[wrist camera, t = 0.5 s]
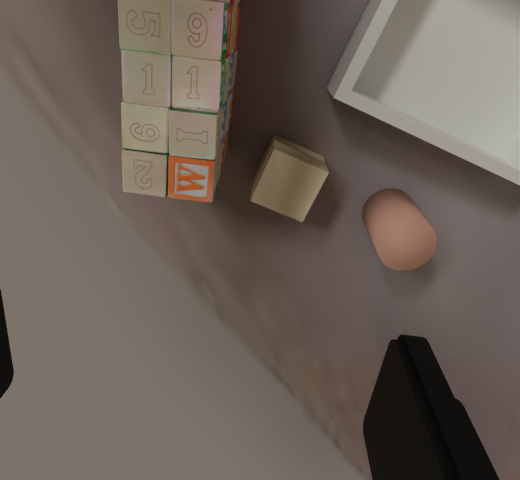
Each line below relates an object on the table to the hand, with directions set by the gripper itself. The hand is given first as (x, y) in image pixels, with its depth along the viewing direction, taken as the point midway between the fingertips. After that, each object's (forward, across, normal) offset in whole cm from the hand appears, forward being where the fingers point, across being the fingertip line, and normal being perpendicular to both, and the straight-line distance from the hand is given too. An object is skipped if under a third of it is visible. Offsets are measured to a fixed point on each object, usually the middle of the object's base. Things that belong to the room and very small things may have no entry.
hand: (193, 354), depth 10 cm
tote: (+32, -16, -8) cm, 36 cm away
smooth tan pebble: (+32, -14, +7) cm, 36 cm away
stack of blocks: (+32, +6, -7) cm, 33 cm away
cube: (+32, -3, +4) cm, 32 cm away
